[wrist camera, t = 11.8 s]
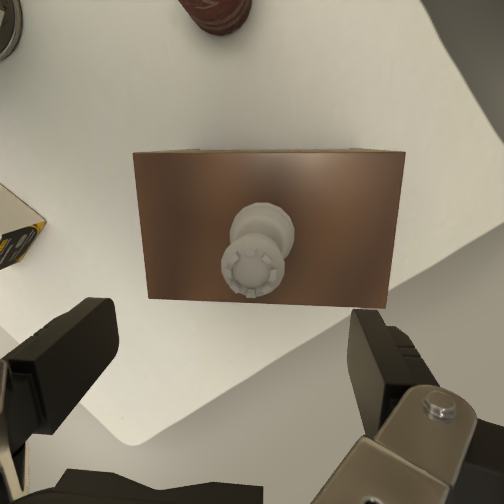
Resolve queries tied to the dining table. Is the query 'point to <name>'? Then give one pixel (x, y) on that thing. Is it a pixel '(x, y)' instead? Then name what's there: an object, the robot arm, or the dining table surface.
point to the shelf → (290, 201)
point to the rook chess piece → (257, 249)
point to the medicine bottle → (16, 228)
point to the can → (217, 14)
